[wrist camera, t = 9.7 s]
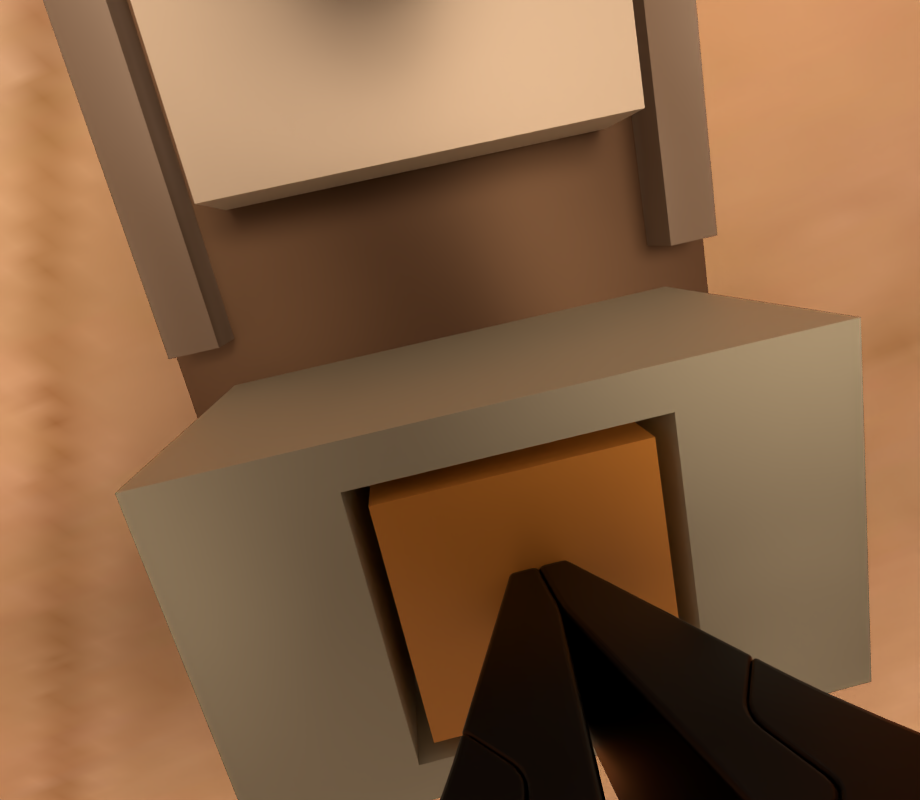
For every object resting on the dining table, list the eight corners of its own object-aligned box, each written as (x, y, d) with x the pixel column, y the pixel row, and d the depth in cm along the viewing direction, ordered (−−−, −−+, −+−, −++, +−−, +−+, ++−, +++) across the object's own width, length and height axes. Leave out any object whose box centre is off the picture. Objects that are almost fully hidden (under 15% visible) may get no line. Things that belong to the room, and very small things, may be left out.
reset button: (557, 365, 13) (655, 437, 8) (585, 528, 14) (686, 676, 9) (377, 407, 13) (368, 506, 8) (419, 570, 14) (434, 742, 9)
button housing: (665, 286, 14) (860, 317, 8) (692, 517, 15) (871, 681, 10) (235, 385, 13) (115, 492, 8) (309, 613, 15) (256, 846, 9)
